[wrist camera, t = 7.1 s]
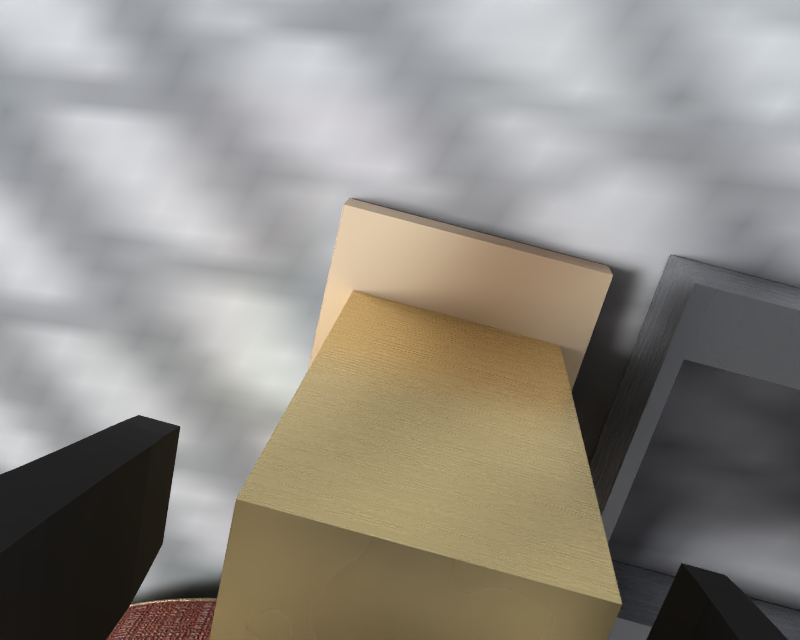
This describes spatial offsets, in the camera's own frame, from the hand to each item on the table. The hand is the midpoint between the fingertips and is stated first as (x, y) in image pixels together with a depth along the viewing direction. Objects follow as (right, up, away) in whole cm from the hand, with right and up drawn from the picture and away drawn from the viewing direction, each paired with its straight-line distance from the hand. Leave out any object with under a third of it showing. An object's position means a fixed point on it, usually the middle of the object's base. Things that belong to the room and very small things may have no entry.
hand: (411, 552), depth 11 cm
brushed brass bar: (0, +1, +4) cm, 5 cm away
